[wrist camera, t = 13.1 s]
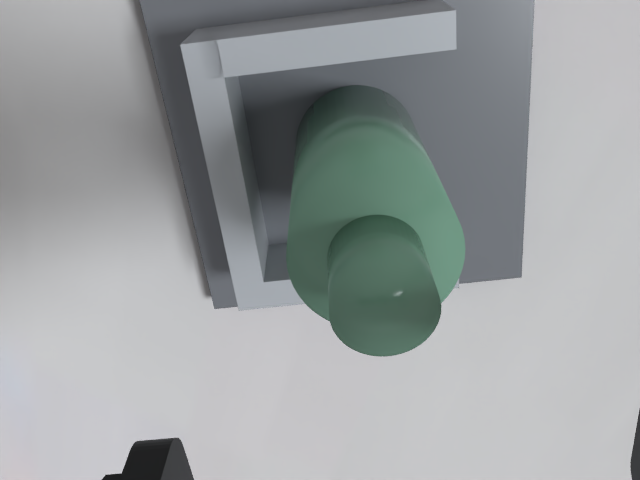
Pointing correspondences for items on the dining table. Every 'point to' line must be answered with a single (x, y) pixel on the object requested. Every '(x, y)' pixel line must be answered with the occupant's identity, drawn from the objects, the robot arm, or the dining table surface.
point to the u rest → (315, 81)
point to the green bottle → (370, 223)
